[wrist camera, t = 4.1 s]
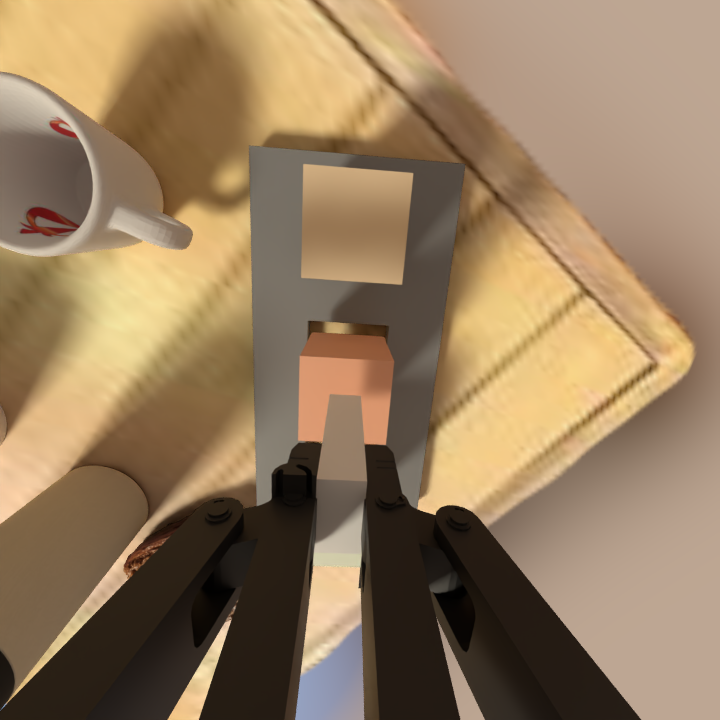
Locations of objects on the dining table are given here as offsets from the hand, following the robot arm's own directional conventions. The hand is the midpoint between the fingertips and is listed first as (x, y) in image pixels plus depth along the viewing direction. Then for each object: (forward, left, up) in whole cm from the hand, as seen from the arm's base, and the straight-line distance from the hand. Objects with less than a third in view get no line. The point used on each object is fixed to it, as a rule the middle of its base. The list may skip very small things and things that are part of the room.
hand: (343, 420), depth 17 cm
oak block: (-9, 0, -8) cm, 12 cm away
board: (0, 0, -11) cm, 11 cm away
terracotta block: (0, 0, -8) cm, 8 cm away
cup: (-10, -15, -12) cm, 21 cm away
